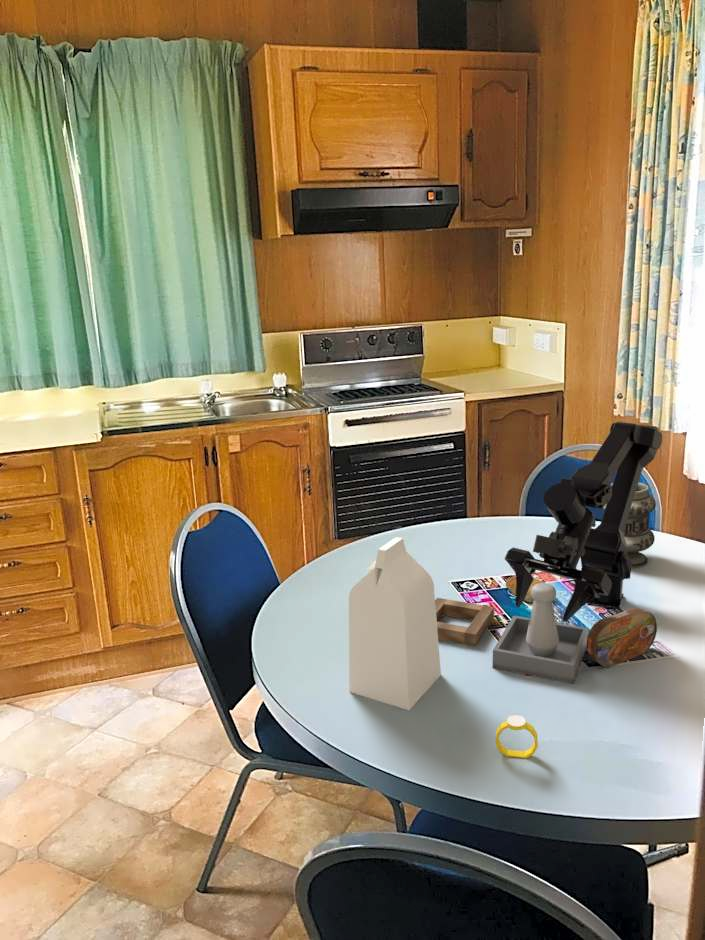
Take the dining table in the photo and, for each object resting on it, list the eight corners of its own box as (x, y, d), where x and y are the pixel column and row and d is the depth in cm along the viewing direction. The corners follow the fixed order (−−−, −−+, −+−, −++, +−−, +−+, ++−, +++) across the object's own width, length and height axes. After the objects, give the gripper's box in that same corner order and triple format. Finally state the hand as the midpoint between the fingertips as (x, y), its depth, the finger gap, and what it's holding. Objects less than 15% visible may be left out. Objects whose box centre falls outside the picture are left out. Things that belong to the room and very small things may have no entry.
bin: (587, 645, 142) (588, 628, 141) (573, 683, 130) (573, 665, 129) (513, 631, 148) (513, 615, 147) (492, 667, 136) (492, 650, 135)
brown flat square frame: (493, 618, 153) (494, 607, 153) (475, 646, 143) (475, 634, 142) (437, 608, 158) (437, 597, 158) (416, 635, 148) (415, 623, 148)
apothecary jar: (607, 546, 186) (611, 475, 181) (659, 555, 179) (664, 482, 174) (590, 563, 177) (594, 489, 172) (644, 574, 170) (649, 497, 165)
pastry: (497, 590, 166) (497, 574, 165) (519, 582, 170) (519, 566, 169) (530, 605, 159) (531, 588, 158) (552, 596, 162) (553, 579, 161)
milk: (409, 710, 125) (404, 563, 117) (349, 691, 131) (341, 550, 123) (441, 674, 134) (438, 536, 127) (384, 659, 140) (378, 526, 133)
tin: (595, 673, 133) (597, 629, 130) (582, 664, 135) (584, 622, 133) (657, 649, 139) (660, 607, 137) (643, 642, 142) (646, 600, 139)
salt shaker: (565, 655, 137) (567, 589, 133) (538, 663, 135) (540, 596, 131) (545, 641, 142) (547, 576, 138) (519, 648, 140) (520, 583, 136)
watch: (496, 761, 112) (493, 725, 110) (497, 749, 114) (494, 714, 113) (538, 762, 111) (536, 726, 109) (538, 750, 113) (535, 715, 112)
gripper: (510, 506, 141) (477, 582, 136) (608, 526, 129) (576, 610, 124) (530, 533, 148) (500, 606, 144) (624, 554, 136) (595, 634, 132)
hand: (540, 613), depth 136 cm, fingers open, 9 cm apart
